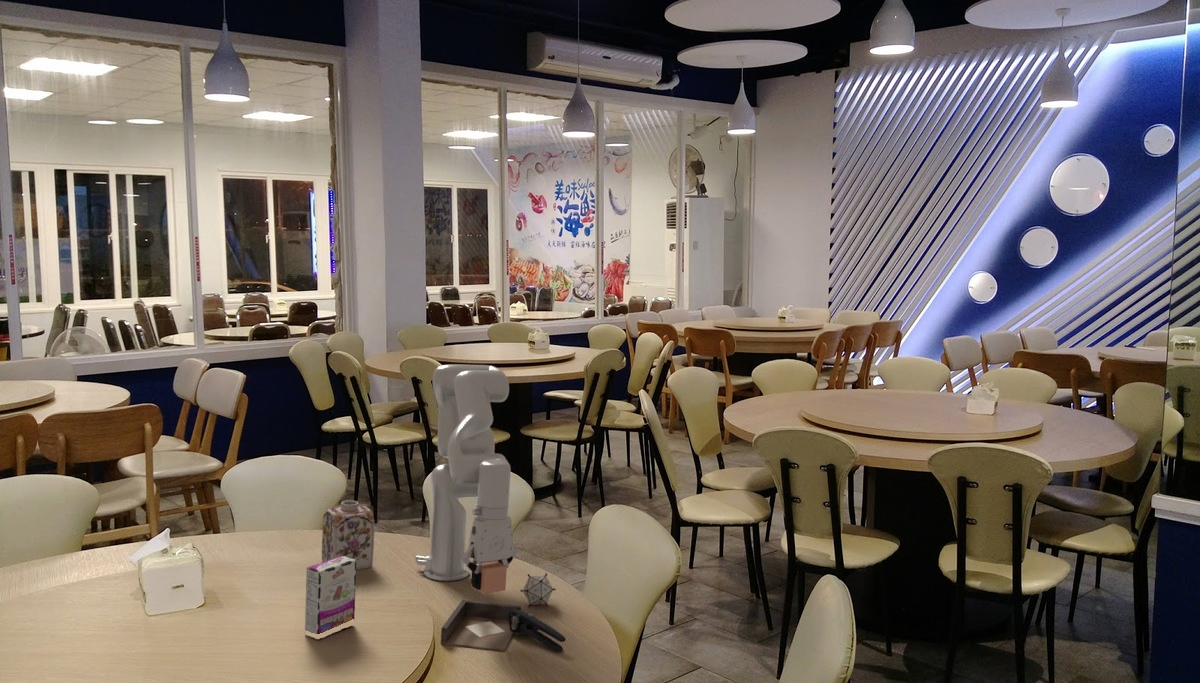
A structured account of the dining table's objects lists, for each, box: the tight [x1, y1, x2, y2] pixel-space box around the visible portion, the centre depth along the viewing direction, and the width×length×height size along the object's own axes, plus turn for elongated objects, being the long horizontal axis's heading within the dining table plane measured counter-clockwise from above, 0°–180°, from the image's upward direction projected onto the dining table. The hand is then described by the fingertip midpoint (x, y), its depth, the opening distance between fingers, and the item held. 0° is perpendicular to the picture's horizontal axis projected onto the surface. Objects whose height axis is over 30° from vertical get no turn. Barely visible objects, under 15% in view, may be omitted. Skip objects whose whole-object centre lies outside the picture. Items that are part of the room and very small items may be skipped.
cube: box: [470, 561, 508, 595], centre depth 214 cm, size 6×6×6 cm
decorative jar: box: [321, 500, 375, 570], centre depth 254 cm, size 12×12×18 cm
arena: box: [440, 599, 522, 652], centre depth 214 cm, size 15×18×4 cm
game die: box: [519, 572, 557, 608], centre depth 234 cm, size 9×8×10 cm
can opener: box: [508, 608, 566, 652], centre depth 212 cm, size 18×7×6 cm, turn 48°
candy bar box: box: [304, 556, 357, 634], centre depth 209 cm, size 11×5×16 cm, turn 148°
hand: (488, 585), depth 214 cm, fingers closed on cube, 5 cm apart
